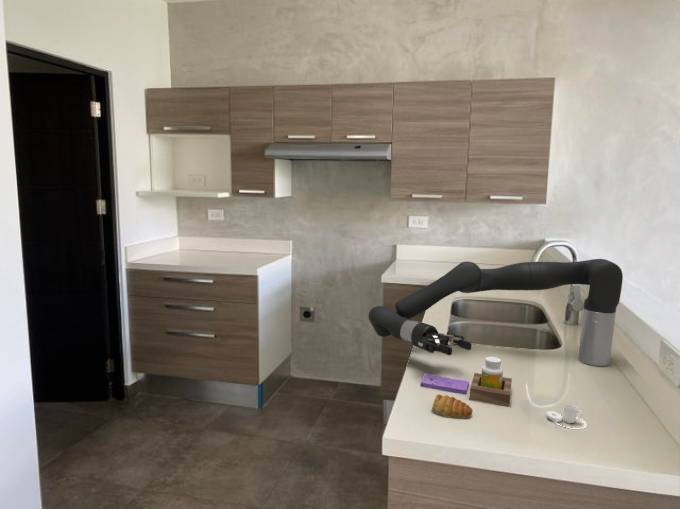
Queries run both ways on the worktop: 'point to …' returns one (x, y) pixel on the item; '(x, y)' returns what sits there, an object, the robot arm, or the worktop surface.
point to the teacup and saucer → (566, 416)
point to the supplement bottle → (492, 373)
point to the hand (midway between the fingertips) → (461, 349)
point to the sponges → (445, 384)
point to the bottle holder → (490, 391)
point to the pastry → (451, 407)
